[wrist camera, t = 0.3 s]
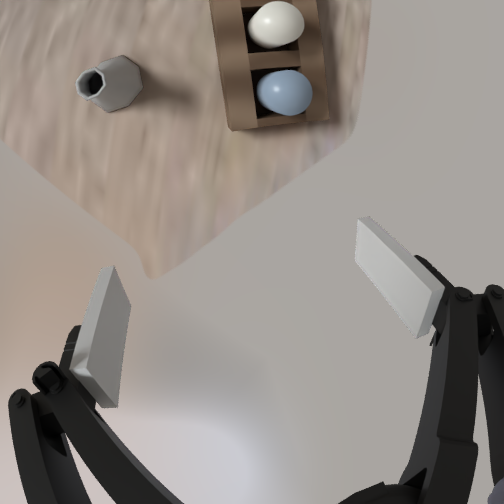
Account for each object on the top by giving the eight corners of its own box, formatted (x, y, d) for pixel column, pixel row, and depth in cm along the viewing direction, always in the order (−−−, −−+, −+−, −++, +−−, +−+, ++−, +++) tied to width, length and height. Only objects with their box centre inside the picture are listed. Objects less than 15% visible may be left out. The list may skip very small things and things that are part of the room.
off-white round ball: (244, 12, 26) (253, 1, 22) (286, 10, 27) (301, 1, 22) (250, 50, 29) (259, 44, 25) (291, 47, 29) (307, 42, 25)
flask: (125, 45, 28) (105, 33, 19) (153, 89, 32) (140, 90, 23) (79, 80, 28) (45, 80, 20) (106, 122, 32) (80, 134, 24)
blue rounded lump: (253, 73, 30) (263, 71, 26) (294, 70, 31) (310, 68, 27) (258, 113, 33) (269, 118, 29) (298, 109, 34) (314, 113, 29)
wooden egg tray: (203, -39, 23) (205, -51, 20) (295, -42, 24) (306, -51, 21) (228, 127, 36) (232, 131, 33) (316, 115, 37) (329, 119, 34)
